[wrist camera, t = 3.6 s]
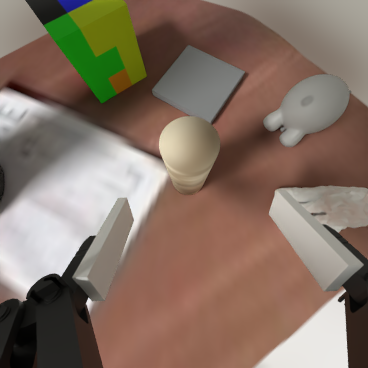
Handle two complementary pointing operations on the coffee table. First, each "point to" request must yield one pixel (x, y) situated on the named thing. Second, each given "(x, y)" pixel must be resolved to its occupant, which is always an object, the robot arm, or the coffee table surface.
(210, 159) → the birch tool handle
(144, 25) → the coffee table surface
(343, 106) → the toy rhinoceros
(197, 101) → the board
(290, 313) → the coffee table surface
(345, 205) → the sitting furry creature
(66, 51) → the puzzle toy
